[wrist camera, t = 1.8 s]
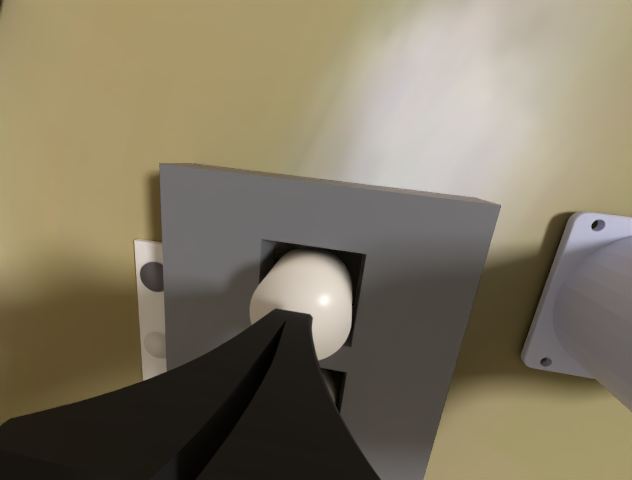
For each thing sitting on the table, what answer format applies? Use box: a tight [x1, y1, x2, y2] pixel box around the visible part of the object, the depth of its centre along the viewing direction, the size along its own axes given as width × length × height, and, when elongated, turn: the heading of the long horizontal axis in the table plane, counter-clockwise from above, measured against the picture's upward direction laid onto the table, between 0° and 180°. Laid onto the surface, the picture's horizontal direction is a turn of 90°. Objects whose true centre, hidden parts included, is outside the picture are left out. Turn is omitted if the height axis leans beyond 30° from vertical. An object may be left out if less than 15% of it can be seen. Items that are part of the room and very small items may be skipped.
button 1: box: [250, 247, 353, 360], centre depth 13 cm, size 4×4×3 cm
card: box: [134, 239, 167, 381], centre depth 18 cm, size 2×13×1 cm, turn 174°
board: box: [159, 163, 501, 480], centre depth 16 cm, size 14×22×2 cm, turn 173°
